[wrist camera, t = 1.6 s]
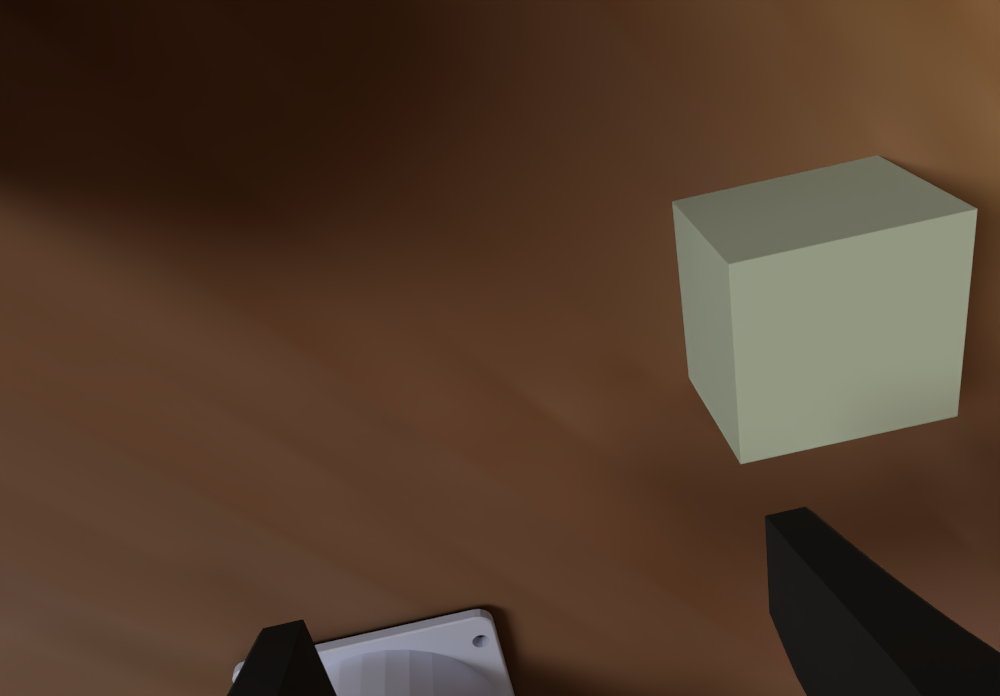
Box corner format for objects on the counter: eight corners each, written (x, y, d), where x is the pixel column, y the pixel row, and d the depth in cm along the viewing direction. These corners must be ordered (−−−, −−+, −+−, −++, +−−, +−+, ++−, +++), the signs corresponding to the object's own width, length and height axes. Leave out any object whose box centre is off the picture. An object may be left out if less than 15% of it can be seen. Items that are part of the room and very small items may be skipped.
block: (869, 334, 22) (957, 416, 19) (687, 374, 22) (740, 464, 19) (875, 153, 20) (977, 208, 16) (670, 199, 20) (728, 264, 16)
